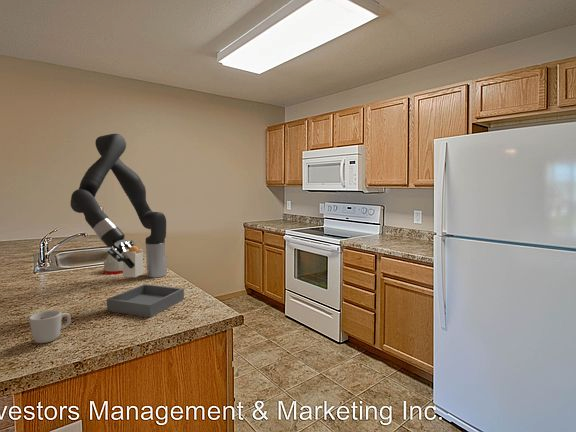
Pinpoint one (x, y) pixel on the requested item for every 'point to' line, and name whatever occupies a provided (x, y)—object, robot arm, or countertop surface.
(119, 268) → the cream and red dome
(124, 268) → the open white crate
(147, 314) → the tray
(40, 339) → the cup
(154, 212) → the robot arm
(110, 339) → the countertop surface
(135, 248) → the ball
